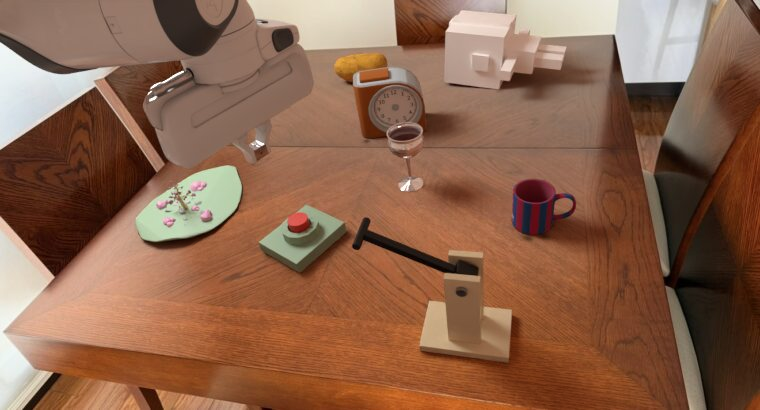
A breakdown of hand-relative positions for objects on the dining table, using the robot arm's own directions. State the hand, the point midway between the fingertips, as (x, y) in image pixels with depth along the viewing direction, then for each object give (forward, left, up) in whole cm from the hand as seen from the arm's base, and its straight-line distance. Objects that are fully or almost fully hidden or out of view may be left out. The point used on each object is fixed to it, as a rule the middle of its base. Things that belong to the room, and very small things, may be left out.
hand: (259, 157), depth 63 cm
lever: (+11, -15, -13) cm, 23 cm away
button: (+5, +13, -24) cm, 27 cm away
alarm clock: (+38, +35, -27) cm, 58 cm away
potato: (+45, +62, -27) cm, 81 cm away
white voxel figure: (+72, +36, -27) cm, 85 cm away
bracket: (+16, -20, -27) cm, 37 cm away
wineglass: (+29, +14, -27) cm, 42 cm away
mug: (+40, -10, -27) cm, 49 cm away
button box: (+5, +12, -27) cm, 30 cm away
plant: (-9, +38, -27) cm, 48 cm away
